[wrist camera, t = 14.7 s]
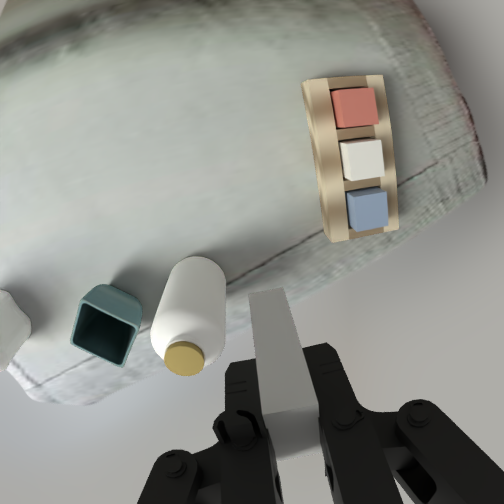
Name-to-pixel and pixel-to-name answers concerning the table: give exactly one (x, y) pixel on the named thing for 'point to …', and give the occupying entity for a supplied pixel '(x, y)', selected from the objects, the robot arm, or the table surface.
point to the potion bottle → (191, 316)
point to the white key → (361, 158)
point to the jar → (11, 329)
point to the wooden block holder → (329, 155)
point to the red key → (354, 107)
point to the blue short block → (366, 208)
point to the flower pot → (107, 324)
